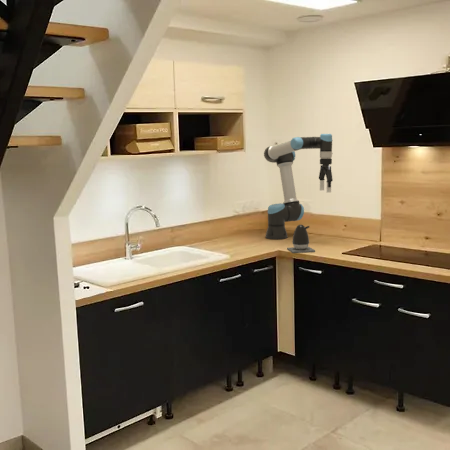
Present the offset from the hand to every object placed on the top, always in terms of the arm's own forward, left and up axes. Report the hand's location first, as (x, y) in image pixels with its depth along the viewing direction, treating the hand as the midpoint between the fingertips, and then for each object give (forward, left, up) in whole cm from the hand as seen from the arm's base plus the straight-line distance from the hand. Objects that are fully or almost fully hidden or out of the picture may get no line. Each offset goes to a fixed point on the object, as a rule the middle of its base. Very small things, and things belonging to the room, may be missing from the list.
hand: (325, 191), depth 373 cm
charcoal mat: (+20, -22, -34) cm, 45 cm away
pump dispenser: (+20, -22, -33) cm, 44 cm away
